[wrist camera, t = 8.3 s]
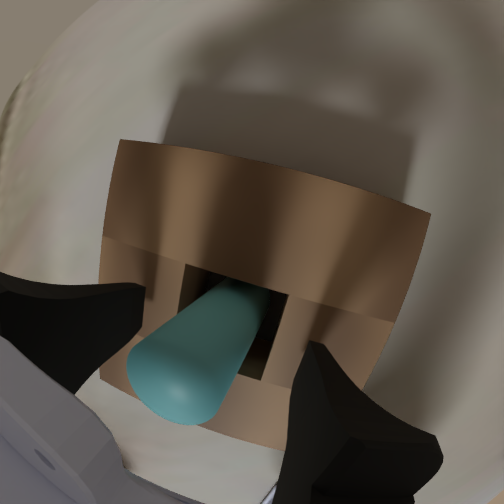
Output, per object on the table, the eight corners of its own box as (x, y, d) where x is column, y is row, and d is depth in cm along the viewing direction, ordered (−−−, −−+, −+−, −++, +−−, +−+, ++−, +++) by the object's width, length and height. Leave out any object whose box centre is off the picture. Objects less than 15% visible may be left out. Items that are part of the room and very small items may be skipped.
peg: (277, 282, 15) (232, 366, 6) (261, 329, 16) (208, 438, 7) (225, 264, 16) (130, 321, 7) (213, 312, 16) (124, 397, 7)
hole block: (400, 210, 13) (431, 213, 9) (319, 414, 16) (318, 457, 12) (159, 150, 15) (120, 139, 11) (131, 351, 18) (100, 378, 14)
